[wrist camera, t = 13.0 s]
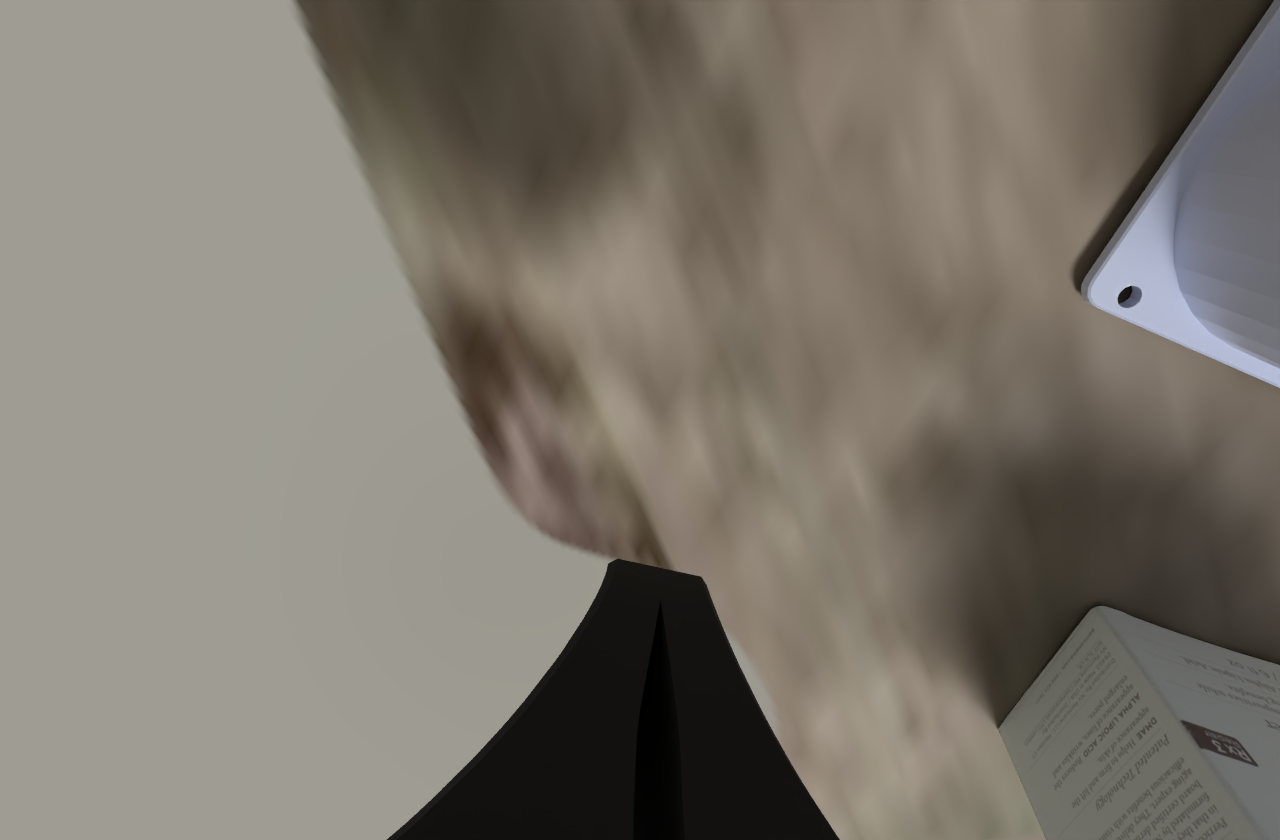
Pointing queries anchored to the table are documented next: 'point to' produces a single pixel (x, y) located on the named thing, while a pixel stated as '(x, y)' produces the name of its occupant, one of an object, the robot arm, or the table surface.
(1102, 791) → the skincare box
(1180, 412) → the table surface
